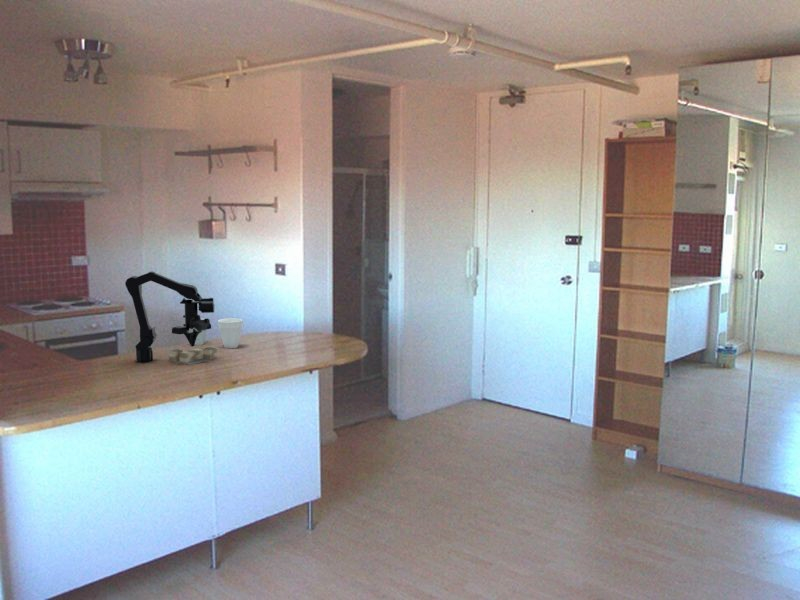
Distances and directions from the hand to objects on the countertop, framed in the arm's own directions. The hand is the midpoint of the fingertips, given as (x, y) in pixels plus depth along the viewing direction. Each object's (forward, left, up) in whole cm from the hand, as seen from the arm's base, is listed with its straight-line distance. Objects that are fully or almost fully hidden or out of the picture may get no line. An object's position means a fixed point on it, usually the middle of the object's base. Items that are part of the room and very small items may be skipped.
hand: (192, 346), depth 337 cm
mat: (+1, 0, -7) cm, 7 cm away
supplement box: (+28, +28, -7) cm, 40 cm away
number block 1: (-5, +5, -6) cm, 10 cm away
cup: (+32, +8, -7) cm, 33 cm away
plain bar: (0, 0, -6) cm, 6 cm away
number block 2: (+7, -5, -6) cm, 10 cm away
